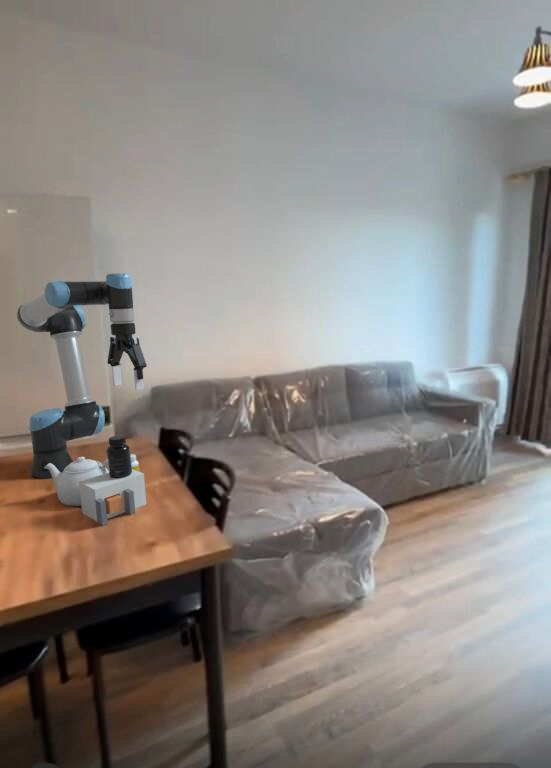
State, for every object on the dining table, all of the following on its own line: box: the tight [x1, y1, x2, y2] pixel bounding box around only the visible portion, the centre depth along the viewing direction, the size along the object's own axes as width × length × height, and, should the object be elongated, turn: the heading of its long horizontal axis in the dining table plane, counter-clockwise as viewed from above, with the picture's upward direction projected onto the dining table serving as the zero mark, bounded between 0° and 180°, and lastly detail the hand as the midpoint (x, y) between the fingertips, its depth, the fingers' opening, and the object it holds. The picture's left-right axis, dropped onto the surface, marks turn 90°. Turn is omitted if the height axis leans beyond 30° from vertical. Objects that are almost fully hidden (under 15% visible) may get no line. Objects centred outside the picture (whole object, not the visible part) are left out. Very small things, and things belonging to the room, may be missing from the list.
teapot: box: [44, 456, 109, 507], centre depth 158 cm, size 19×18×14 cm
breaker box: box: [79, 469, 147, 527], centre depth 147 cm, size 13×16×10 cm
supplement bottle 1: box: [106, 434, 132, 478], centre depth 149 cm, size 7×7×12 cm
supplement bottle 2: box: [130, 453, 140, 472], centre depth 169 cm, size 5×5×10 cm
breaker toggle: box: [104, 494, 123, 514], centre depth 144 cm, size 8×4×4 cm, turn 47°
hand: (128, 387), depth 160 cm, fingers open, 13 cm apart
